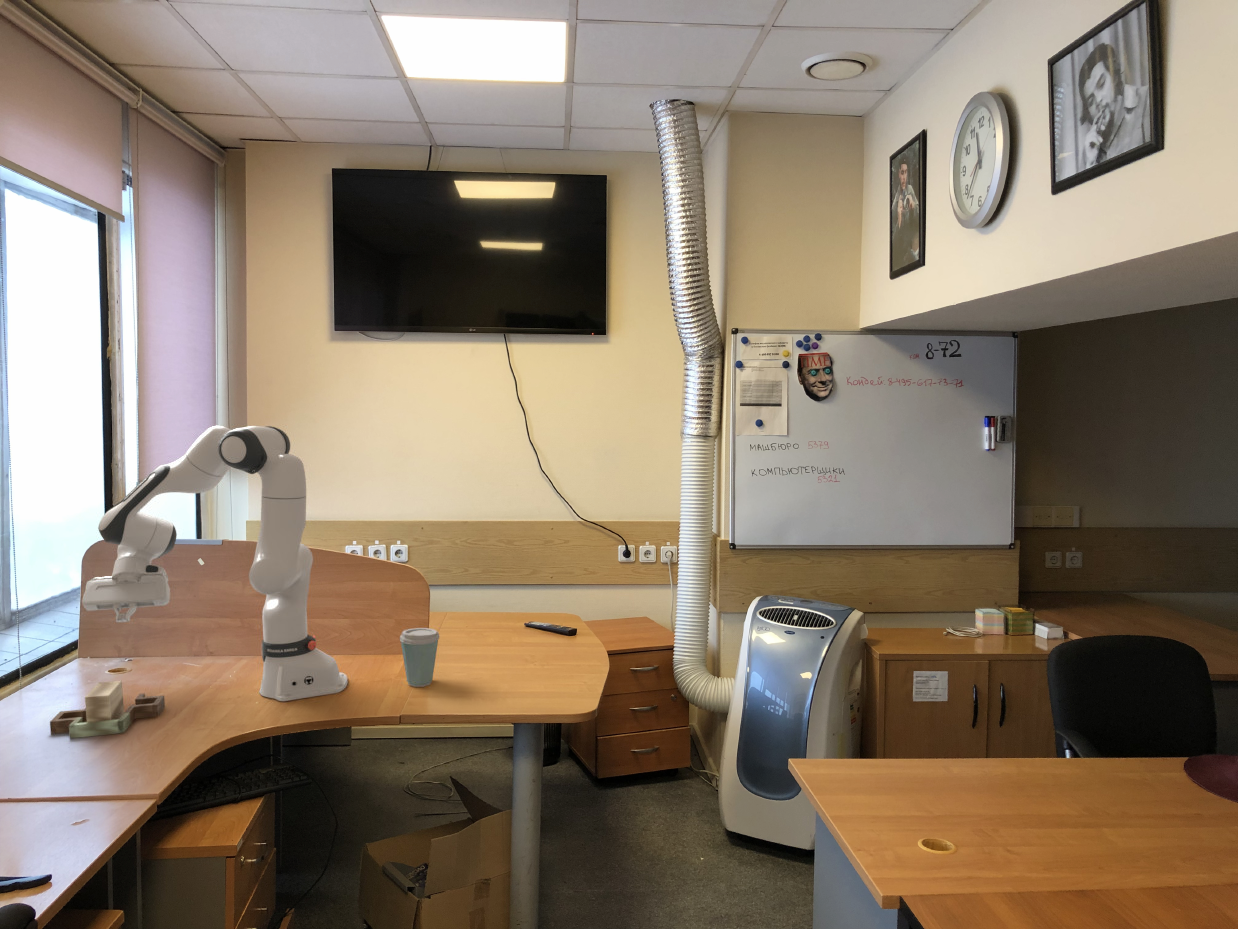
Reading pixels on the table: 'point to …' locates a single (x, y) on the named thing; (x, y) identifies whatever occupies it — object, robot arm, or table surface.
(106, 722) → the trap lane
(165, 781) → the table surface
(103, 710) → the beech block
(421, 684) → the disposable coffee cup
